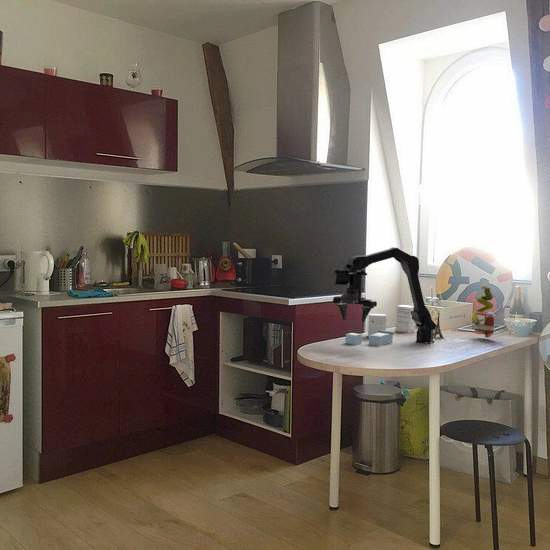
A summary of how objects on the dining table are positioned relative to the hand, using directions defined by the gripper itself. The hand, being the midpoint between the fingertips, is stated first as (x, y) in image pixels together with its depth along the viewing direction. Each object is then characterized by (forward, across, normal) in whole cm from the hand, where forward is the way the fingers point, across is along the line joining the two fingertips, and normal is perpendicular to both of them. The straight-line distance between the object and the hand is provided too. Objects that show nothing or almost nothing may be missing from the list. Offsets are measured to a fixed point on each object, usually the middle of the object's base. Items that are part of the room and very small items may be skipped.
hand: (353, 321), depth 275 cm
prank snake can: (+9, +38, +58) cm, 69 cm away
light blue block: (+10, 0, 0) cm, 10 cm away
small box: (+10, 0, +24) cm, 26 cm away
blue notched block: (+10, +9, +10) cm, 16 cm away
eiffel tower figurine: (+10, +21, +43) cm, 49 cm away
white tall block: (+10, +2, +51) cm, 52 cm away
